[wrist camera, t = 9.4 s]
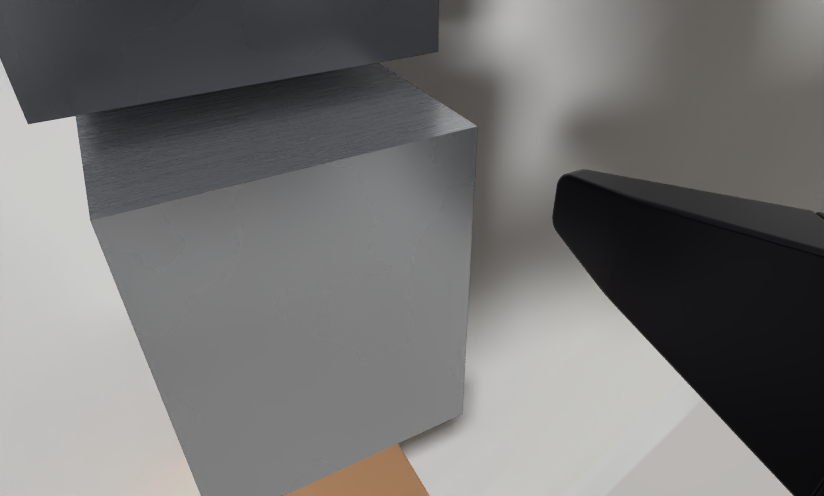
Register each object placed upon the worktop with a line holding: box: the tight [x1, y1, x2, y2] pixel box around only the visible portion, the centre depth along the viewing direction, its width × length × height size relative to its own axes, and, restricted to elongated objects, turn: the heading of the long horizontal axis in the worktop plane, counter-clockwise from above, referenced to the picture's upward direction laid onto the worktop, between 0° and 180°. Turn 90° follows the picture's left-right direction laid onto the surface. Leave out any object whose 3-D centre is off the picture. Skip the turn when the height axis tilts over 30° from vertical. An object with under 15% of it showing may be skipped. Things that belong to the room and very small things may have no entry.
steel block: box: [76, 62, 478, 496], centre depth 9 cm, size 5×4×6 cm
